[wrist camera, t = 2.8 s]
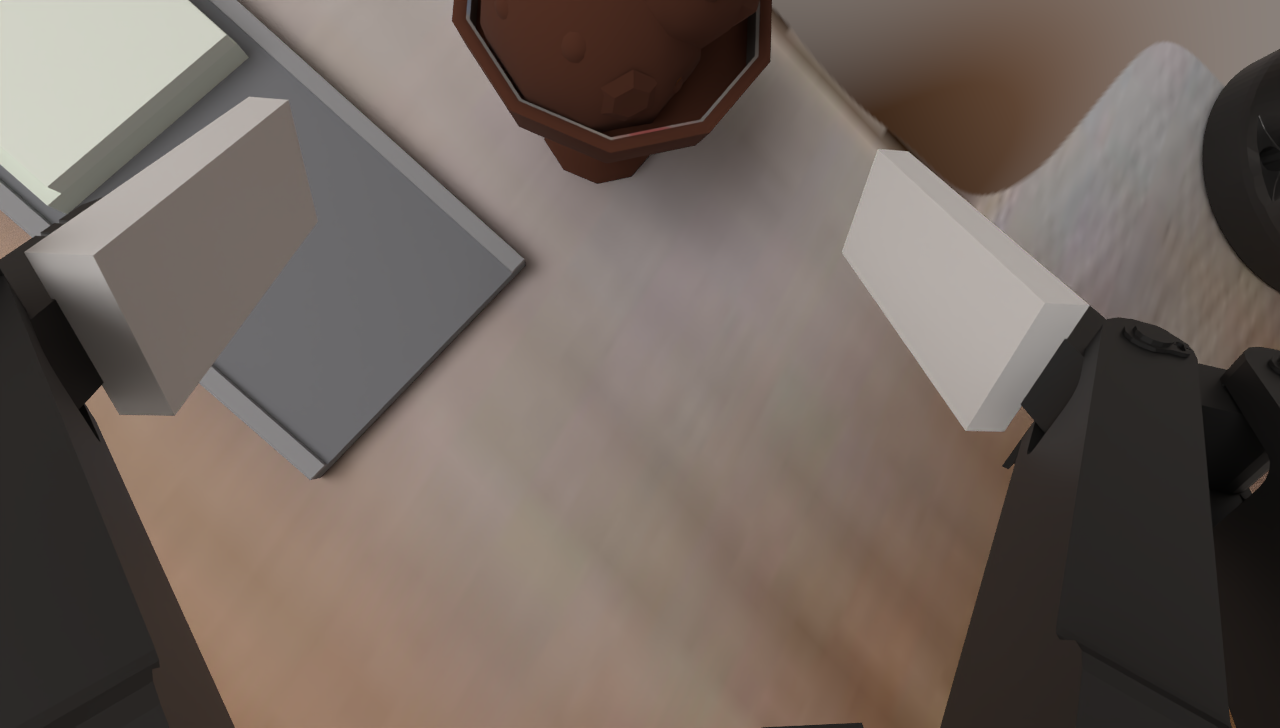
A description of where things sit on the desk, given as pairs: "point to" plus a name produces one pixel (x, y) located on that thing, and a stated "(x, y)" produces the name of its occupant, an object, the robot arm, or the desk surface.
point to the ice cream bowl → (617, 71)
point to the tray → (329, 261)
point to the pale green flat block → (98, 85)
